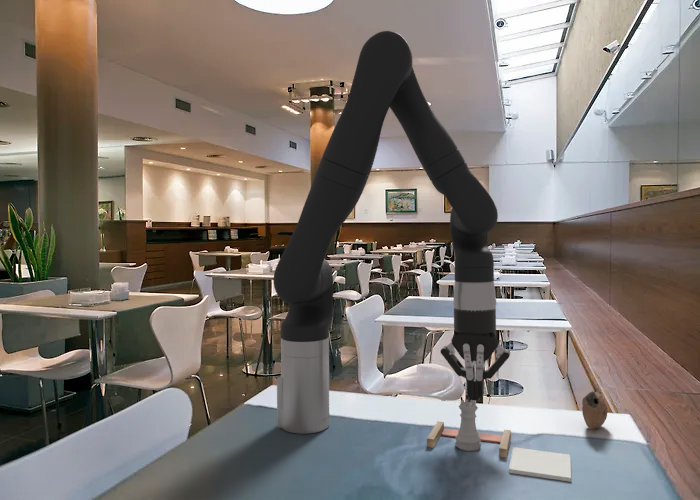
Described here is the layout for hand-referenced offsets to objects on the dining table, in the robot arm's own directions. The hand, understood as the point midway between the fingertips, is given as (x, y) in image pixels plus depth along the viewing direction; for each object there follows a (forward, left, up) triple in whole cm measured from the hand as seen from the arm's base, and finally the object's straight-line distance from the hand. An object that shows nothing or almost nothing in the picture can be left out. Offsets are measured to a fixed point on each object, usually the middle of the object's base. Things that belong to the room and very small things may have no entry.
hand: (475, 399), depth 101 cm
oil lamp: (+21, +10, -7) cm, 24 cm away
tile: (+12, -10, -7) cm, 16 cm away
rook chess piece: (0, -6, -7) cm, 9 cm away
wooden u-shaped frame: (0, -4, -7) cm, 8 cm away
